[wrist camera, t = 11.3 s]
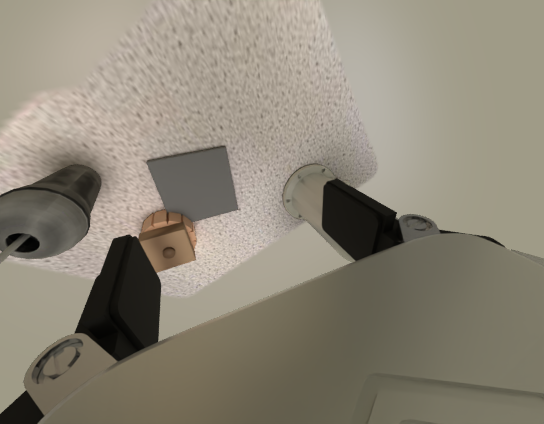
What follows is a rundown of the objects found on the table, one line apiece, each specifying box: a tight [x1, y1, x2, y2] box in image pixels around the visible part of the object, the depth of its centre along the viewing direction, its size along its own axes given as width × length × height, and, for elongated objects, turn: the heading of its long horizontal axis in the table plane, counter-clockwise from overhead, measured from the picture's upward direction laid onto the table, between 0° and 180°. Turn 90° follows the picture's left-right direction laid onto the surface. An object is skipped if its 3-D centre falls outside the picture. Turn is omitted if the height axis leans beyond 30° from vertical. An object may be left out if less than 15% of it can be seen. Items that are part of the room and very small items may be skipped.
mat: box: [146, 146, 238, 222], centre depth 37 cm, size 12×12×1 cm
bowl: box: [141, 209, 197, 248], centre depth 38 cm, size 9×9×4 cm
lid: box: [138, 221, 196, 273], centre depth 35 cm, size 7×7×3 cm
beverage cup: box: [0, 165, 101, 263], centre depth 23 cm, size 7×7×20 cm
